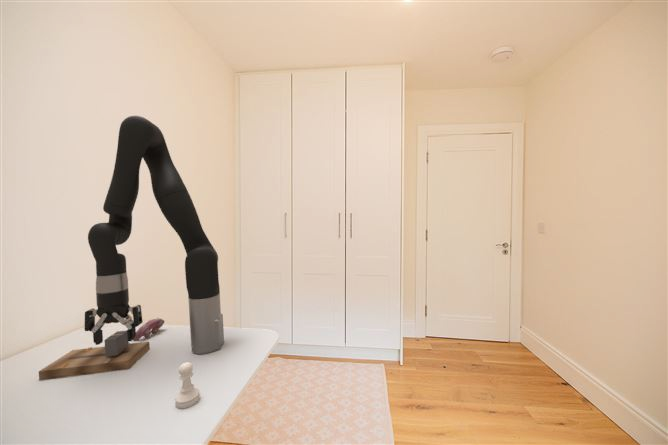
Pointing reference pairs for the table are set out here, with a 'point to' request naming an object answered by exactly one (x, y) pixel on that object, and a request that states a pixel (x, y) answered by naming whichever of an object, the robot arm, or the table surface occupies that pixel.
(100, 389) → the table surface
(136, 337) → the video game controller
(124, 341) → the fader cap
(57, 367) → the fader base
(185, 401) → the chess pawn
